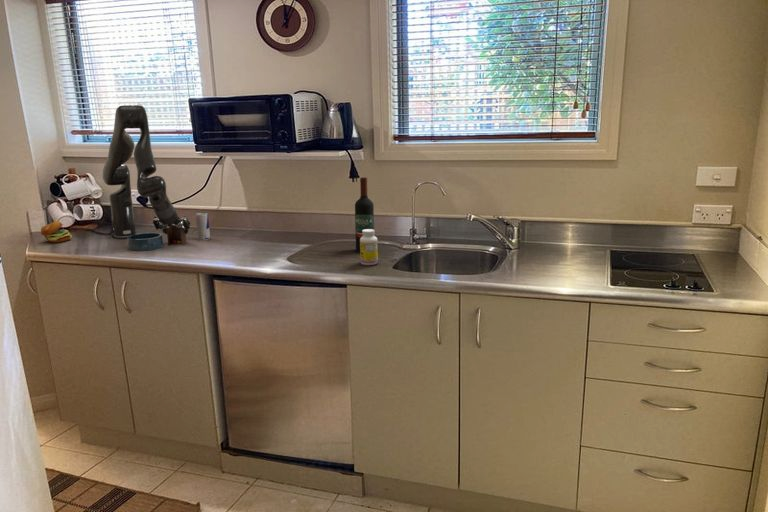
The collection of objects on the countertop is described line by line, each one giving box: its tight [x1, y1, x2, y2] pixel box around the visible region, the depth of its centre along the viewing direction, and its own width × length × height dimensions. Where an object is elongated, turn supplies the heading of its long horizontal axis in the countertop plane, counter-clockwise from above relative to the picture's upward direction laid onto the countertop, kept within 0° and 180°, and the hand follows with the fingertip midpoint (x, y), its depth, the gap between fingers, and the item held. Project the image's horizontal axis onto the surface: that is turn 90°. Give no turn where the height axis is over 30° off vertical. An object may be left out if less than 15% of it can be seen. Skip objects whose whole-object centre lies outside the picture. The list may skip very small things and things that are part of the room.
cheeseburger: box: [40, 220, 72, 244], centre depth 257 cm, size 10×11×10 cm
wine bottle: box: [354, 176, 375, 253], centre depth 232 cm, size 8×8×30 cm
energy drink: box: [195, 212, 211, 241], centre depth 256 cm, size 5×5×12 cm
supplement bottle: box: [359, 229, 379, 266], centre depth 214 cm, size 7×7×13 cm
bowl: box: [126, 232, 164, 252], centre depth 242 cm, size 14×14×6 cm
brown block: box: [166, 225, 187, 246], centre depth 249 cm, size 6×6×8 cm
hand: (176, 232), depth 249 cm, fingers open, 8 cm apart
